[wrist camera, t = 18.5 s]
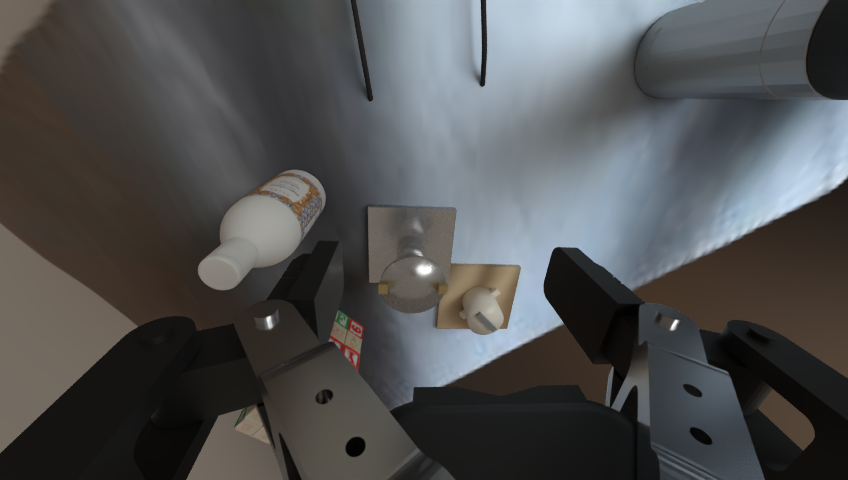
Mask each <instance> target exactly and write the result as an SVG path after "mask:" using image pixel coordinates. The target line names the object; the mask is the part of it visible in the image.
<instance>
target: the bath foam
mask: <svg viewBox="0 0 848 480" xmlns="http://www.w3.org/2000/svg"><path fill="white" fill-rule="evenodd" d="M325 201H326V196H325V191H324V189H323V187H322V185H321V183H320V182H319V181H318V180H317V179H316V178H315V177H314V176H313V175H311V174H309V173H307V172H305V171H301V170H288V171H285V172H282V173H281V174H279V175H277V176H276V177H274V178H272V179H271V180H269V181H268V182H266V183H265V184H263V185H261V186H260V187H258V188H257V189H255V190H254V191H252V192H251V193H249V194H248V195H246V196H244V197H243V198H241V199H240V200H238V201H237V202H236V203H234V204H233V206H232V207H231V208H230V209H229V210H228V211H227V213H226V214H225V216H224V218H223V220H222V223H221V227H220V241H221V245H220V246H219V247H218V248H216V249H215V250H214V251H213V252H212V253H210V254H209V255H208V256H207V257H206V258H204V259H203V260H202V261H201V262H200V264H199V266H198V274H199V276H200V278H201V280H202V281H203V282H204V283H205V284H206V285H208V286H209V287H211V288H214V289H217V290H229V289H232V288H234V287H235V286H237V285H238V284H239V283H240V281H241V280H242V279H243V278H244V277H245V276H246V275H247V273H248V272H249V271H250V270H251V269H252V268H260V267H267V266H272V265H275V264H277V263H279V262H281V261H283V260H284V259H286V258H287V257H289V256H290V255H291V254H292V253H293V252H294V251H295V250H296V249H297V247H298V246H299V244H300V243H301V241H302V240H303V238H304V237H305V236H306V234H307V233H308V231H309V230H310V228H311V227H312V225H313V224H314V222H315V221H316V219H317V218H318V217H319V215H320V213H321V212H322V210H323V208H324V206H325Z"/></svg>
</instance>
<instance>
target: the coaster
mask: <svg viewBox="0 0 848 480" xmlns="http://www.w3.org/2000/svg"><path fill="white" fill-rule="evenodd" d="M520 269H521V267H520V266H519V265H491V264H450V272H449V281H448V291H447V295H443V297H442V299H441V300H440V301H439V305H438V315H437V329H470V328H469V325H468V322H467V318H466V319H463V318H462V317H461V316H460V314H459V313H460V312H461V311H462V310H464V308H463V305H462V298H463V296H464V294H465V293H466V292H467V291H468V290H469V289H471V288H473V287H477V286H483V287H487V288H489V289H490V290H491V289H493V288H494V287H496V288H497V289H498V290H499V292H500V294H499V295H498V296H496V297H495V299H496V301H497V303H498V305H499V307H500V309H501V311H502V314H503V317H504V320H503V323H502V325H501V327H500V328H499V329H507V327H508V322H509V318H510V313H511V309H512V305H513V300H514V296H515V291H516V287H517V283H518V278H519V274H520Z"/></svg>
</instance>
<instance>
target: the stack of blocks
mask: <svg viewBox="0 0 848 480" xmlns="http://www.w3.org/2000/svg"><path fill="white" fill-rule="evenodd" d="M363 333H364V327H363V326H362V325H360V324H359V323H357V322H356V321H354V320H353V319H352V318H350V317H348V316H347V315H345V314H344V313H343V312H341V311H340V310H338V312H337V315H336V318H335V322H334V325H333V329H332V332H331V335H330V339H329V342H330V341H332V342H334V343H335V344H336V345H337V346H338V348H339V349H340V350H341V351H342V353H343V354H344V355H345V356H346V358H347V359H348V360H349V361H350V363H351V364H352V365H353V366H354V368H355V369H356V370H357V371H358V367H359V360H360V351H361V344H362V339H363ZM234 429H236V430H238V431H240V432H242V433H245V434H247V435H249V436H252V437H254V438H256V439H259V440H261V441H263V442H265V443H267V444H269V443H270V442H269V439H268V437H267V434H266V432H265V429H264V427H263V424H262V422H261V419H260V417H259V414H258V412H257V409H256V407H255V405H253V406H249V407H246V408H243V411H242V412H241V414H240V417H239V419H238V420H237V422H236V424H235V426H234Z"/></svg>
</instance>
